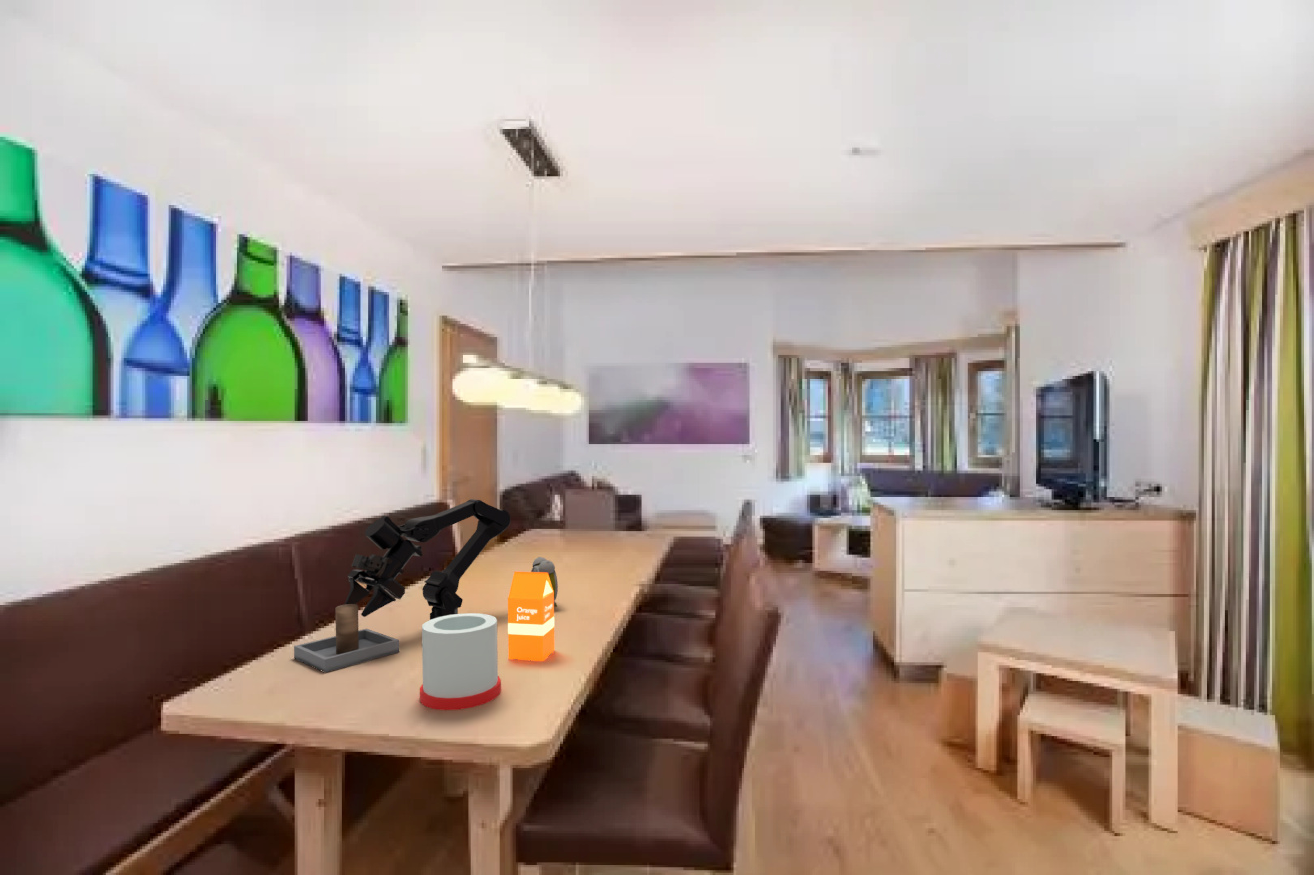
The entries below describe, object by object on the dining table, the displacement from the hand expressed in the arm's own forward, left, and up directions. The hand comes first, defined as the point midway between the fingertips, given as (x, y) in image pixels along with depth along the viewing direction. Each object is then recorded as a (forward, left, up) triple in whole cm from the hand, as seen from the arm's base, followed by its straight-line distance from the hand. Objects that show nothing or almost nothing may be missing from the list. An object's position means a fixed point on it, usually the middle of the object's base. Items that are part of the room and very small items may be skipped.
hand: (353, 612), depth 165 cm
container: (-34, +26, -10) cm, 44 cm away
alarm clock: (-40, -42, -10) cm, 59 cm away
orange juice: (-44, +2, -10) cm, 45 cm away
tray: (+1, +1, -10) cm, 10 cm away
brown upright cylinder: (+1, +1, -9) cm, 9 cm away
